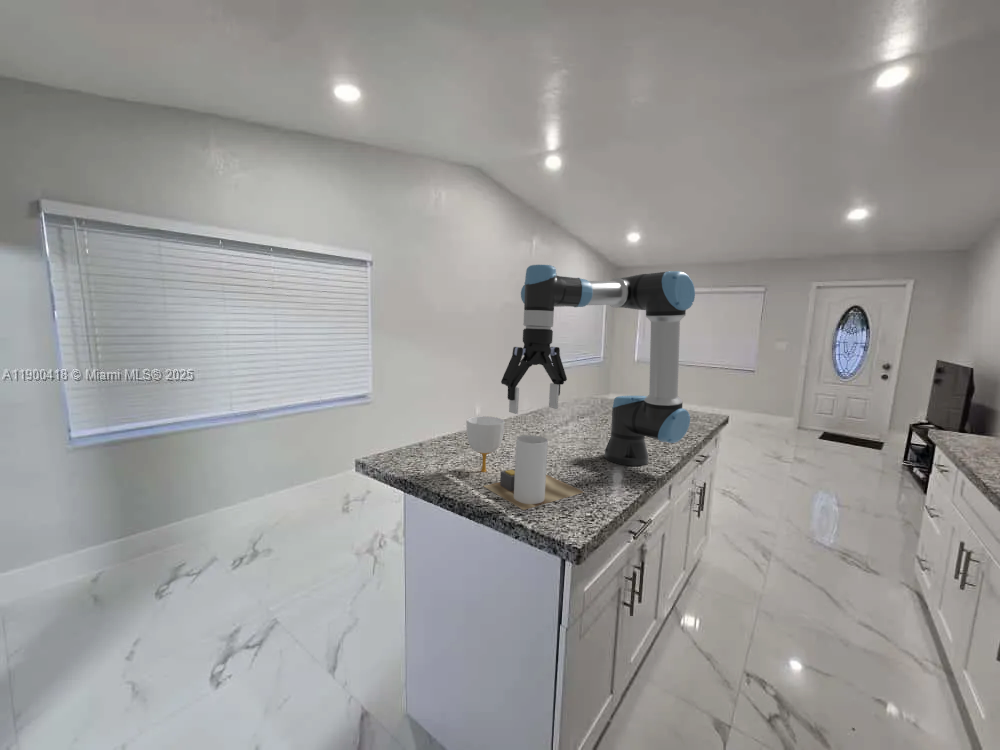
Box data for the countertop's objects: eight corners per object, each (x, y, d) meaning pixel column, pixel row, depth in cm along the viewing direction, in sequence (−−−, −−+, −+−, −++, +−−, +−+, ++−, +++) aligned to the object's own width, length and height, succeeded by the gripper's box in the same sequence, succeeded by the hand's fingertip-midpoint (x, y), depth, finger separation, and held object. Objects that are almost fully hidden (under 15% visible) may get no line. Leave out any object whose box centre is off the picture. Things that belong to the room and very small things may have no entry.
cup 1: (475, 483, 123) (477, 426, 121) (458, 470, 133) (460, 417, 131) (509, 477, 129) (512, 423, 127) (490, 465, 139) (492, 415, 137)
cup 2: (550, 502, 110) (553, 442, 108) (521, 505, 107) (524, 444, 105) (536, 490, 118) (539, 434, 116) (508, 493, 114) (511, 435, 113)
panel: (541, 475, 132) (541, 472, 132) (584, 495, 118) (584, 491, 118) (482, 489, 119) (483, 485, 119) (523, 513, 105) (523, 509, 105)
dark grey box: (514, 481, 123) (514, 467, 122) (524, 487, 119) (525, 472, 118) (500, 485, 120) (500, 470, 120) (510, 491, 116) (511, 475, 116)
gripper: (562, 328, 117) (558, 403, 120) (489, 326, 103) (486, 412, 105) (583, 329, 111) (578, 408, 114) (507, 327, 97) (504, 418, 99)
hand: (534, 410), depth 110 cm, fingers open, 13 cm apart
